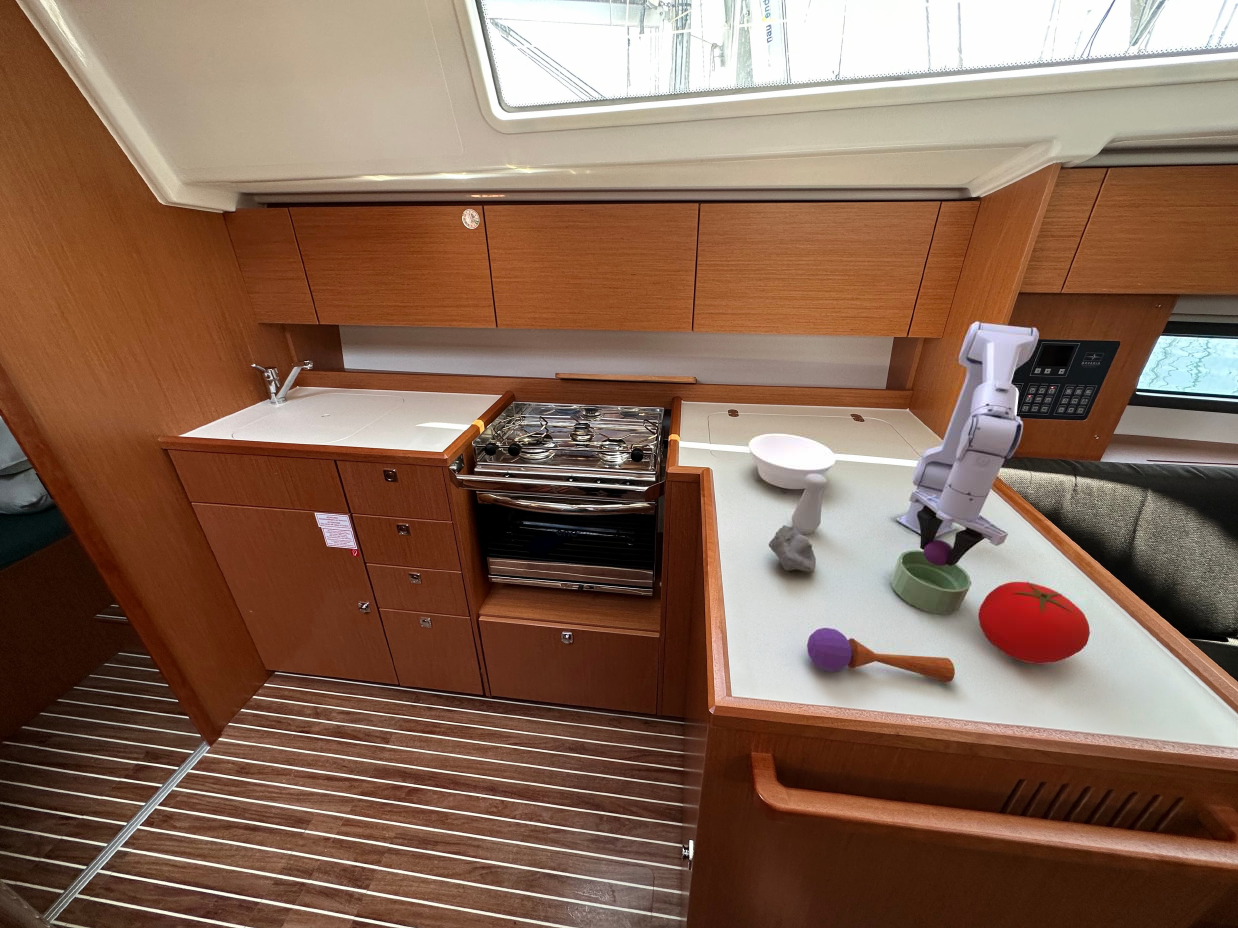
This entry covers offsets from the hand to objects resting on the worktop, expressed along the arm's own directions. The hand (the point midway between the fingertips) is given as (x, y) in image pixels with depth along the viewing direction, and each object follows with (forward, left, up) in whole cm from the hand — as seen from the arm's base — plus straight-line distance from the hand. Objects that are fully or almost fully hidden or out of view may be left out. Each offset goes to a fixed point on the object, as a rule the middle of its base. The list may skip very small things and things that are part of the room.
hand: (937, 555), depth 82 cm
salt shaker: (+5, -24, -8) cm, 26 cm away
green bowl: (0, 0, -8) cm, 8 cm away
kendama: (+23, +8, -8) cm, 26 cm away
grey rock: (+17, -16, -8) cm, 25 cm away
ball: (0, 0, +1) cm, 1 cm away
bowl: (-8, -43, -8) cm, 44 cm away
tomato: (-2, +14, -8) cm, 17 cm away
